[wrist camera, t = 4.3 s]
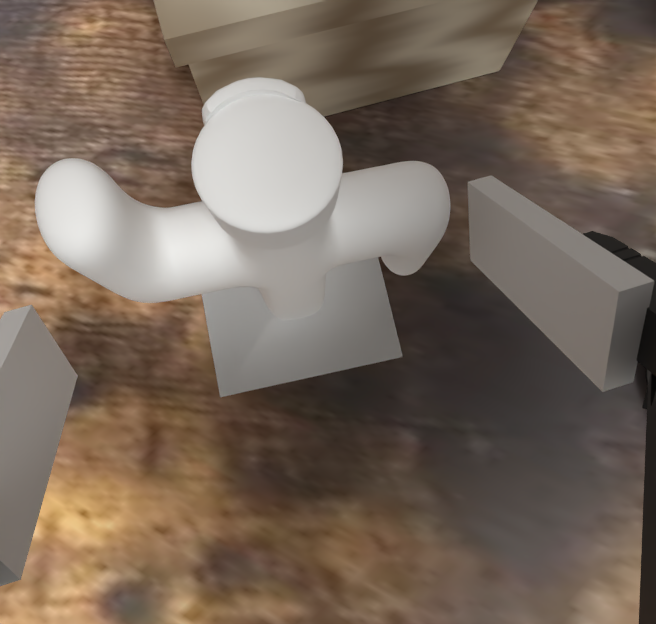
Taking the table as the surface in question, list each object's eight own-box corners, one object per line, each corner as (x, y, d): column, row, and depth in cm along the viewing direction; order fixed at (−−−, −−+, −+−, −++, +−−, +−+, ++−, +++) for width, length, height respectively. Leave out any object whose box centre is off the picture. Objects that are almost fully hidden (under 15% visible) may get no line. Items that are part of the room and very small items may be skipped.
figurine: (413, 359, 24) (569, 279, 9) (211, 404, 23) (23, 397, 8) (376, 214, 25) (461, -65, 10) (184, 253, 24) (-19, 18, 10)
